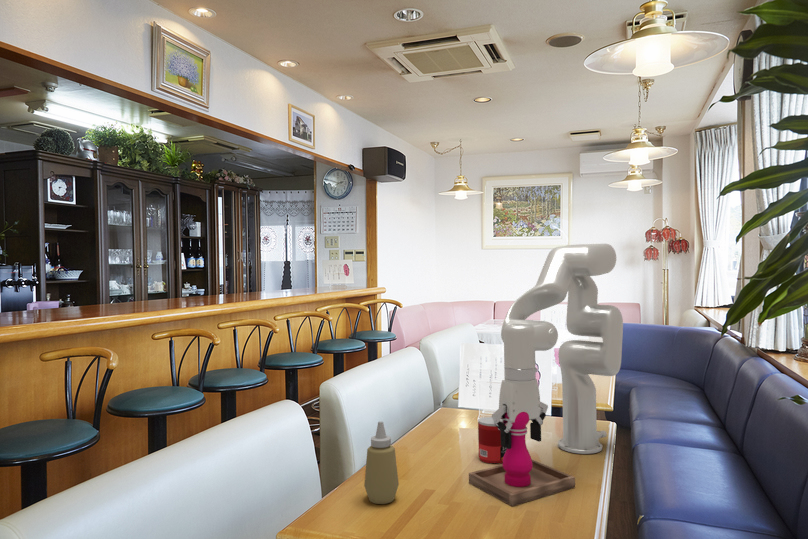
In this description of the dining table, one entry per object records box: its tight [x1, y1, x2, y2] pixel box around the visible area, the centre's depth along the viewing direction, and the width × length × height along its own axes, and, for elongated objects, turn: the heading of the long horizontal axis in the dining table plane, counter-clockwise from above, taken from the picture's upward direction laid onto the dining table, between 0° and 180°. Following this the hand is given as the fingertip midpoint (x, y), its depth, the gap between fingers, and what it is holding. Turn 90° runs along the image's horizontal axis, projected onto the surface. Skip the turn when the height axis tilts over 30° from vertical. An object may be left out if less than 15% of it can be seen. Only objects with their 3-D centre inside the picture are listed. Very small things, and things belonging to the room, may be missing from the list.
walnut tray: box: [468, 459, 576, 507], centre depth 135 cm, size 20×16×2 cm
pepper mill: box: [501, 412, 533, 487], centre depth 134 cm, size 7×7×20 cm
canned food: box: [477, 416, 507, 465], centre depth 154 cm, size 8×8×11 cm
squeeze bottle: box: [363, 421, 400, 505], centre depth 128 cm, size 8×8×18 cm
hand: (521, 443), depth 135 cm, fingers open, 9 cm apart
